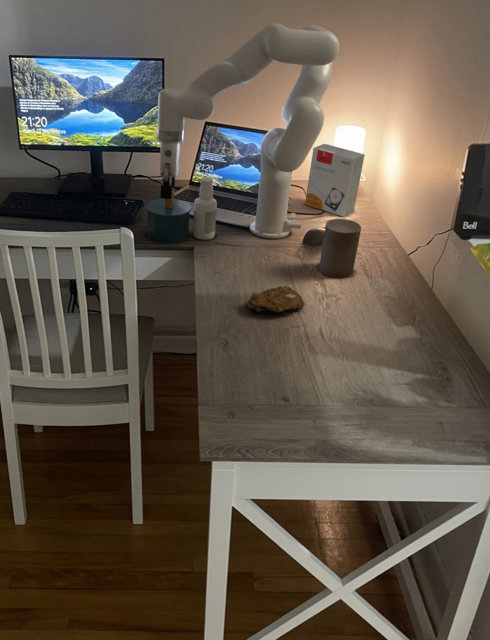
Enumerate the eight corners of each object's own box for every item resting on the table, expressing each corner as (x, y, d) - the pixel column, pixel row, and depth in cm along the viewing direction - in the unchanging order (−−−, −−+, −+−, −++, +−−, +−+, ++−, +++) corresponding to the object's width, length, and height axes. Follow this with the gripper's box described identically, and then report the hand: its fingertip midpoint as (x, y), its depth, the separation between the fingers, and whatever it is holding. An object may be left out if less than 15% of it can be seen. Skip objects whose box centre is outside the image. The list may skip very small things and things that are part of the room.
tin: (189, 227, 215) (190, 202, 210) (186, 244, 204) (187, 217, 199) (150, 225, 215) (150, 199, 211) (145, 241, 205) (145, 214, 200)
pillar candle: (359, 270, 193) (369, 221, 185) (341, 281, 187) (350, 231, 179) (330, 259, 198) (338, 211, 190) (311, 269, 192) (319, 220, 184)
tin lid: (192, 203, 211) (193, 184, 207) (189, 220, 199) (190, 200, 196) (148, 200, 211) (149, 181, 208) (143, 217, 200) (143, 197, 197)
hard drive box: (303, 205, 235) (312, 147, 224) (315, 199, 239) (323, 142, 229) (343, 217, 226) (354, 158, 215) (355, 211, 231) (365, 153, 220)
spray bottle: (214, 240, 207) (218, 183, 197) (192, 239, 207) (195, 182, 197) (214, 231, 213) (218, 175, 203) (192, 230, 213) (195, 174, 203)
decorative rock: (264, 326, 166) (310, 313, 173) (267, 312, 164) (313, 299, 171) (237, 303, 174) (282, 291, 181) (239, 289, 171) (285, 278, 179)
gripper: (180, 144, 186) (177, 204, 195) (185, 127, 200) (182, 183, 209) (153, 142, 186) (151, 202, 195) (160, 125, 201) (158, 181, 210)
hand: (167, 192), depth 202 cm, fingers open, 9 cm apart
